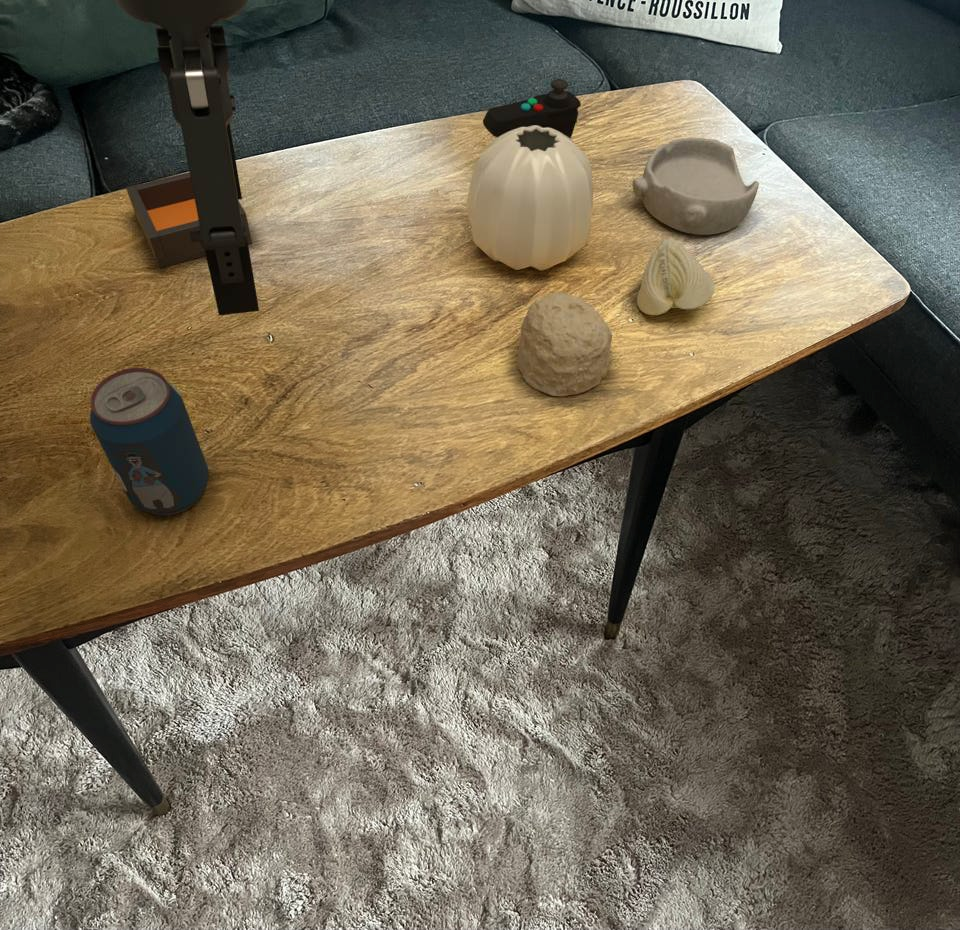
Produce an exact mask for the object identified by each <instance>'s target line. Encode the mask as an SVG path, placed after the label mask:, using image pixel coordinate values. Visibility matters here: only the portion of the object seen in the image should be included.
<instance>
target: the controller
mask: <svg viewBox="0 0 960 930" xmlns="http://www.w3.org/2000/svg"><path fill="white" fill-rule="evenodd" d="M550 88H552V89H551V90H550V91H548V92H547V93H543V94H538V95H535V96H534V97H531V98H529V99H525V100H521V101H517V102H513V103H507V104H505V105H500V106H495V107H491V108H489V109H488V110H486V113H485V115H484V117H483V119H482V124H483V126H484V128H485V129H486V130H487V132H488V133H489V134H491V136H492V137H495V138H497V137H499V136H501V135H503V134H505V133H507V132H509V131H511V130H514V129H517V128H520V127H529V126H533V125H538V126H541V127H542V128H547V127H549V128H552V129H555V130H557V131H559V132H561V133H562V134H564V135H565V136H567V137H569V138H570V139H571V140H572V136H573V134H574V131H575V128H576V127H575V126H576V124H577V122H578V118H579V108H580V107H581V106H582V102H581V101H580V99H579V98H578V97H577V96H575V94H573V93H572V92H570V91H567V90H566V89H568V88H569V82H568V80H565V79H562V78H555V79H553V80H551V82H550Z"/></svg>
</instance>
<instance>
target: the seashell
mask: <svg viewBox="0 0 960 930" xmlns="http://www.w3.org/2000/svg"><path fill="white" fill-rule="evenodd" d="M648 258H649V259H648V260H647V263H646V265H645V268H644V269H643V273H642V277H641V282H640V288H639V290H638V293H637V297H636V304H637V307H638V309H639V310H640V312H641V313H644V314H646V315H649V316H660V315H662V314H665V313H667V312H668V311H669V310H671V309H682V310H695V309H698V308H700V307H702V306H704V305H706V304H707V303H708V302H709V301H710V300H711V299H712V297H713V295H714V293H715V281H714V279H713V277H712V275H711V274H710V273H709V272H708V271H707V270H705V268H704V267H703V266H702V265H701V264H700V262H699V259H697V257H696V256H694V254H692V252H691V251H690V250H688V249H687V248H686V247H685V246H684V245H683V244H681V242H678V241H677V240H676V239H675V238H671V237H665V238H662V240H661V241H660V242H659V243H657V245H656V247H655V249H653V251H652V253H651V254H650V257H648Z"/></svg>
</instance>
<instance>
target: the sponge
mask: <svg viewBox="0 0 960 930" xmlns="http://www.w3.org/2000/svg"><path fill="white" fill-rule="evenodd" d="M612 341H613V332H612V331H611V329H610V327H609V325H608V324H607V322H606V321H605V320H604V318H603V317H602V316H601V315H600V313H599V311H597V310H595V306H593V305H592V304H590V303H588V302H587V301H586V300H585V299H584V298H582V297H578V296H577V295H576V296H575V295H572V294H569V293H566V292H562V291H554V292H551V293H547V294H546V295H544V296H539V298H535V300H534V301H533V303H531V304H530V305H529V307H528V310H527V311H526V315H525V316H524V318H523V321H522V324H521V326H520V337H519V344H518V355H517V368H518V370H519V372H520V373H521V375H522V378H523V379H524V381H525V382H526V384H528V385H529V386H530V387H532V388H533V389H535V390H536V391H539V392H542V393H544V394H547V395H550V396H552V397H567V396H573V395H578V394H581V393H585V392H587V391H589V390H590V389H592V388H595V387H597V386H598V385H600V383H601V381H602V379H603V378H605V377H606V376H607V374H608V369H609V366H610V357H611V351H612V350H611V348H612Z"/></svg>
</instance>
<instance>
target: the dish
mask: <svg viewBox="0 0 960 930" xmlns="http://www.w3.org/2000/svg"><path fill="white" fill-rule="evenodd" d="M734 151H735V150H734V147H732V146H731V145H729V144H727V143H724V142H722V141H720V140H718V139H715V138H705V137H685V138H675V139H671V140H670V141H668V143H663V144H661V145H659V146H658V147H657V148H655V150H654V151H653V152H652V153H651V154H650V156H649V157H648V159H647V161H646V164H645V166H644V170H643V175H642V178H639V177H636V178H634V179H633V182H632V192H633V194H634V195H635V197H636V198H637V199H641V201H642V204H643V206H644V207H645V210H646V211H647V212H648V213H649V214H650V215H651V216H652V217H653V218H655V219H656V220H658V221H659V222H660V223H662V224H664V225H666V226H668V227H670V228H672V229H675V230H676V231H680V232H683V233H687V234H692V235H703V236H704V235H705V236H708V235H717V234H719V233H720V234H721V233H724V232H728V231H730V230H733V229H734V228H736V227H737V226H738V225H739V224H740V223H741V222H743V220H744V219H745V218H746V217H747V215H748V213H749V211H750V210H751V208H752V206H753V204H754V201H755V199H756V196H757V194H758V189H759V186H760V182H759V181H758V180H755V181H753V182H752V183H751V184H749V185H746V184H745V182H744V180H743V178H742V176H741V173H740V170H739V166H738V164H737V160H736V155H735V152H734Z"/></svg>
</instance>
